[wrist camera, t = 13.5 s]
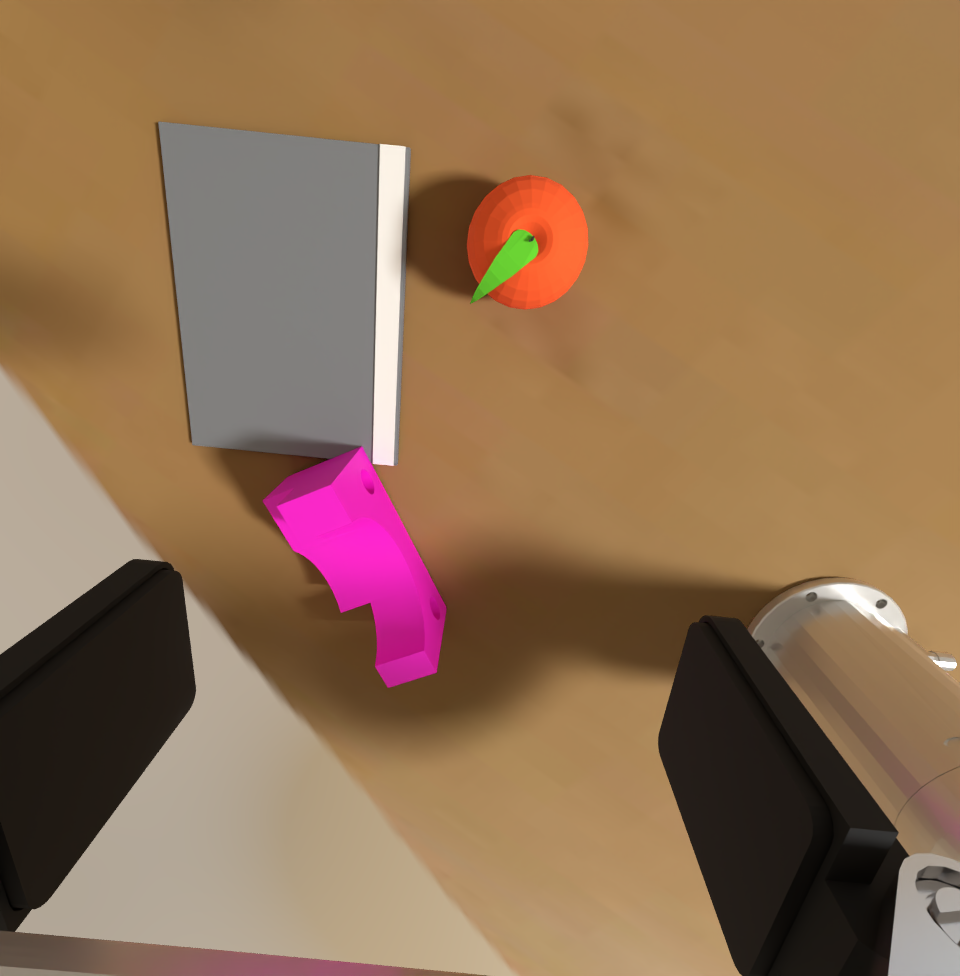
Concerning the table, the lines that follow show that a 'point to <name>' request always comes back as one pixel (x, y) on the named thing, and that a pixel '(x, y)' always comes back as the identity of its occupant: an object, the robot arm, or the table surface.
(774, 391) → the table surface
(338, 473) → the toy block
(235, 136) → the mat
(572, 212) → the clementine
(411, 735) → the table surface
